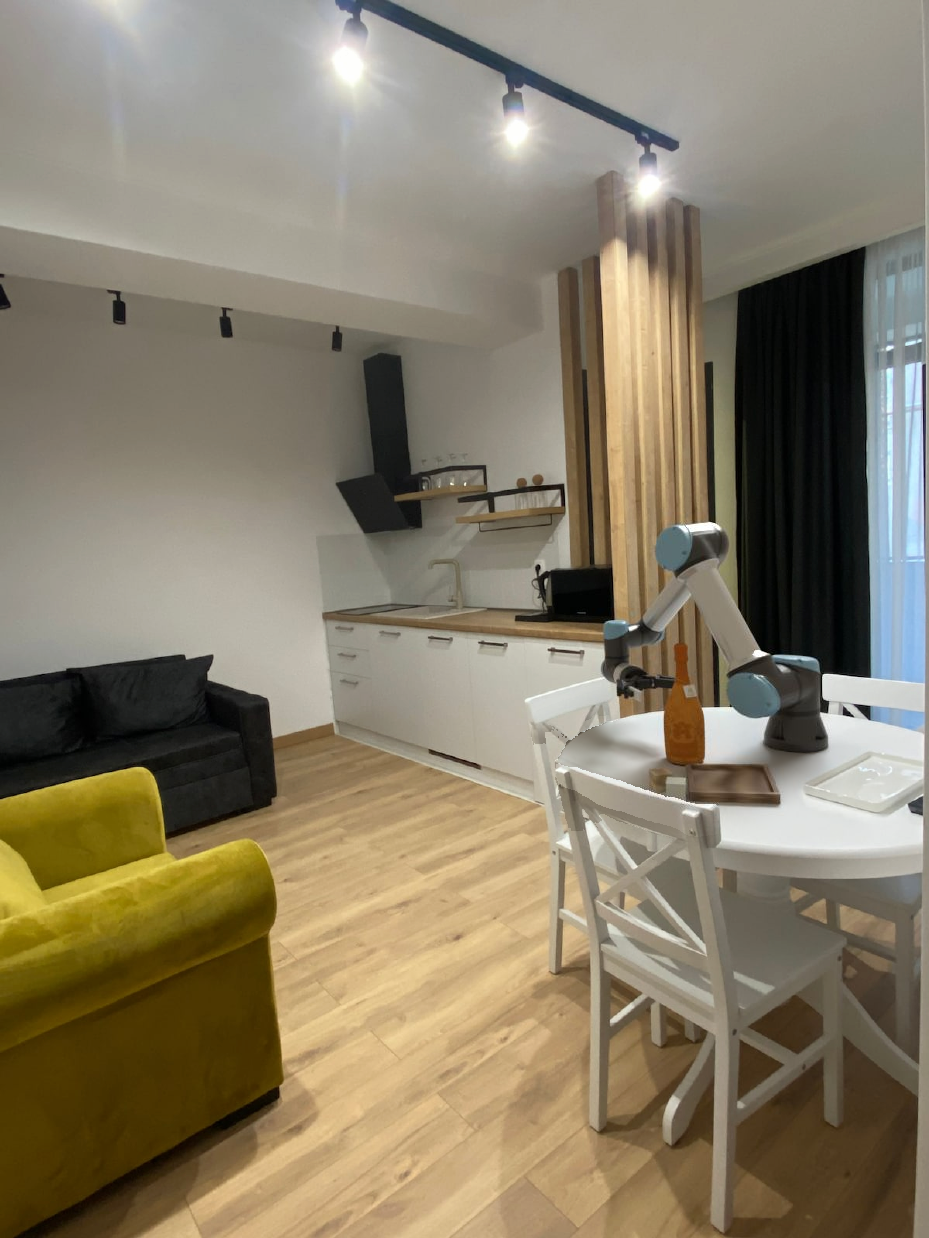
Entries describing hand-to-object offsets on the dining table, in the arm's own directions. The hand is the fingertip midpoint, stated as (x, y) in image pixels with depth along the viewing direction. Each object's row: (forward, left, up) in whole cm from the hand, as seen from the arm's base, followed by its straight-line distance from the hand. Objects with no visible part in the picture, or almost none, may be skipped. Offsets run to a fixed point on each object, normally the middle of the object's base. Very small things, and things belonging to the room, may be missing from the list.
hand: (664, 693), depth 182 cm
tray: (-13, +26, -15) cm, 33 cm away
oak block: (+2, +28, -15) cm, 32 cm away
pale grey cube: (-1, +33, -15) cm, 36 cm away
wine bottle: (-4, +9, -15) cm, 18 cm away
